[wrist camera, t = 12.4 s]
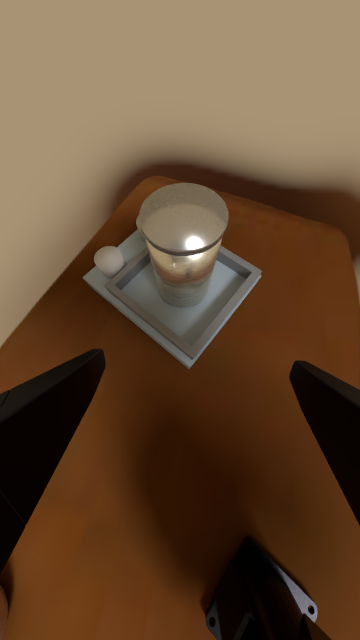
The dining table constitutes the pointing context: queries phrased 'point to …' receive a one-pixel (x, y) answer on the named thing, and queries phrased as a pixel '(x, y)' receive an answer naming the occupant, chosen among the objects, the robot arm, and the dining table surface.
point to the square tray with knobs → (154, 312)
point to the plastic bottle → (3, 612)
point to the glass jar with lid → (183, 239)
